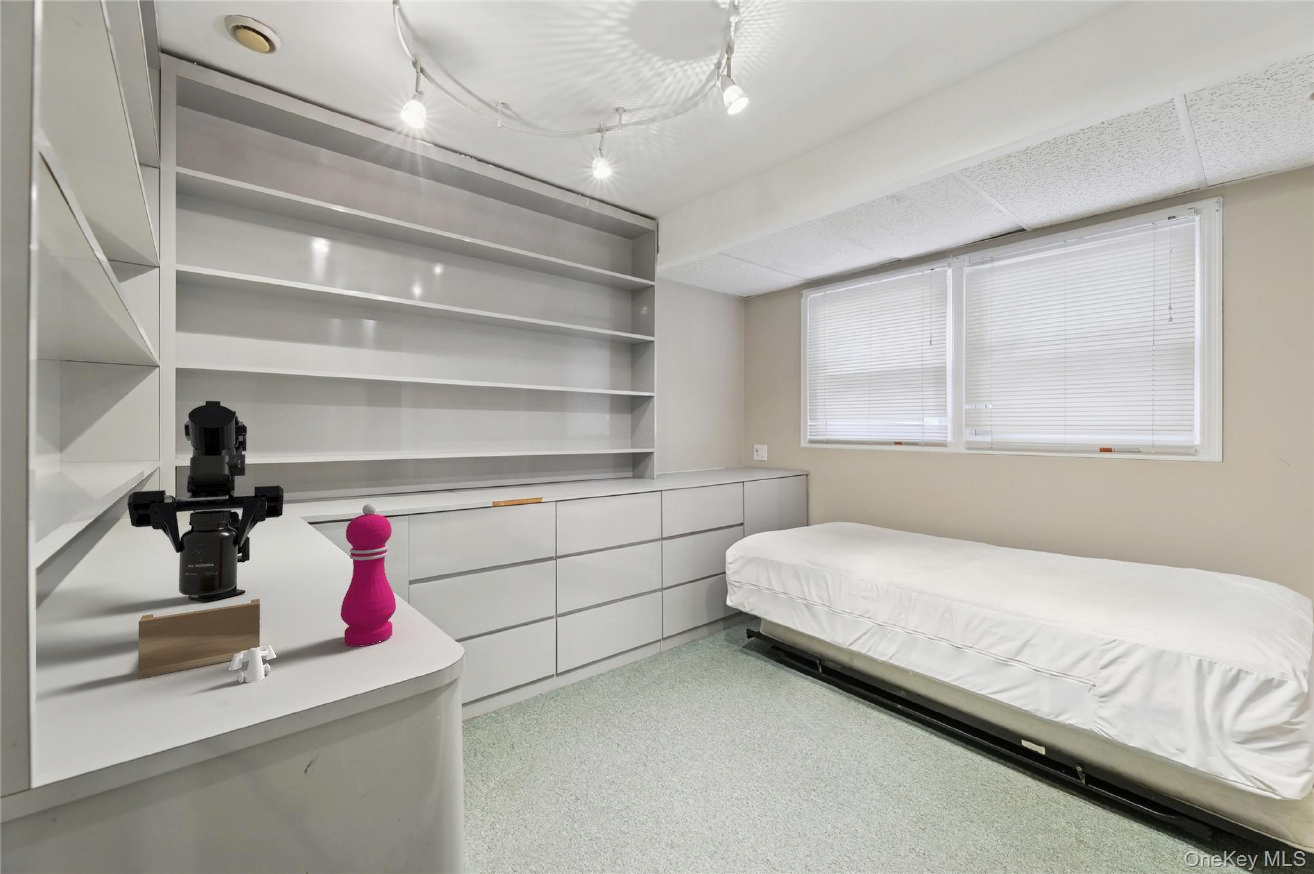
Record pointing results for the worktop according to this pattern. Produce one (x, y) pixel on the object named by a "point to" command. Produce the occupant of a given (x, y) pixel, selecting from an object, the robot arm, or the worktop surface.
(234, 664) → the clip
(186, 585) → the supplement bottle
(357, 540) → the pepper mill
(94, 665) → the worktop surface
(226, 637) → the holder
